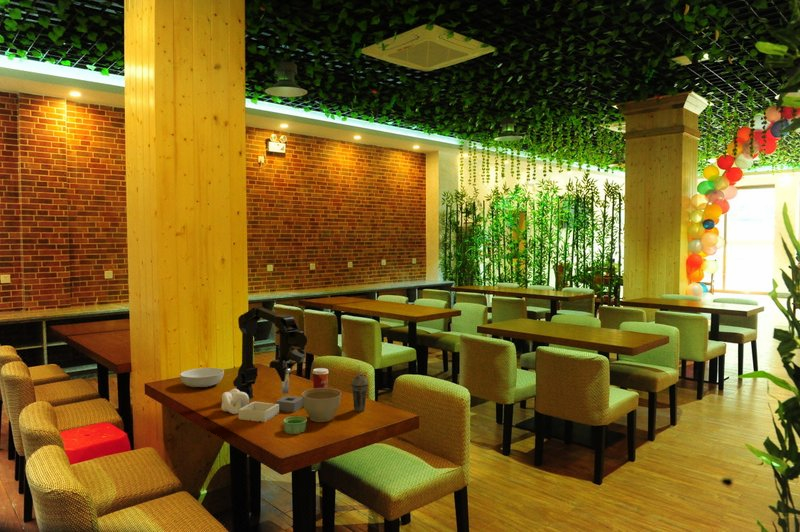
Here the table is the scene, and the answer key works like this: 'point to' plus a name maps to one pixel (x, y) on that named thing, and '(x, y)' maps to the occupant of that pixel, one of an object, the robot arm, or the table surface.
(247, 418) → the tray
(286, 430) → the ramekin
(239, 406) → the white knot sculpture
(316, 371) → the paper cup
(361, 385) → the beverage cup
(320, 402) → the planter bowl
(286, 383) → the pin
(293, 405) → the block
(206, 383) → the serving bowl
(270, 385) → the table surface
